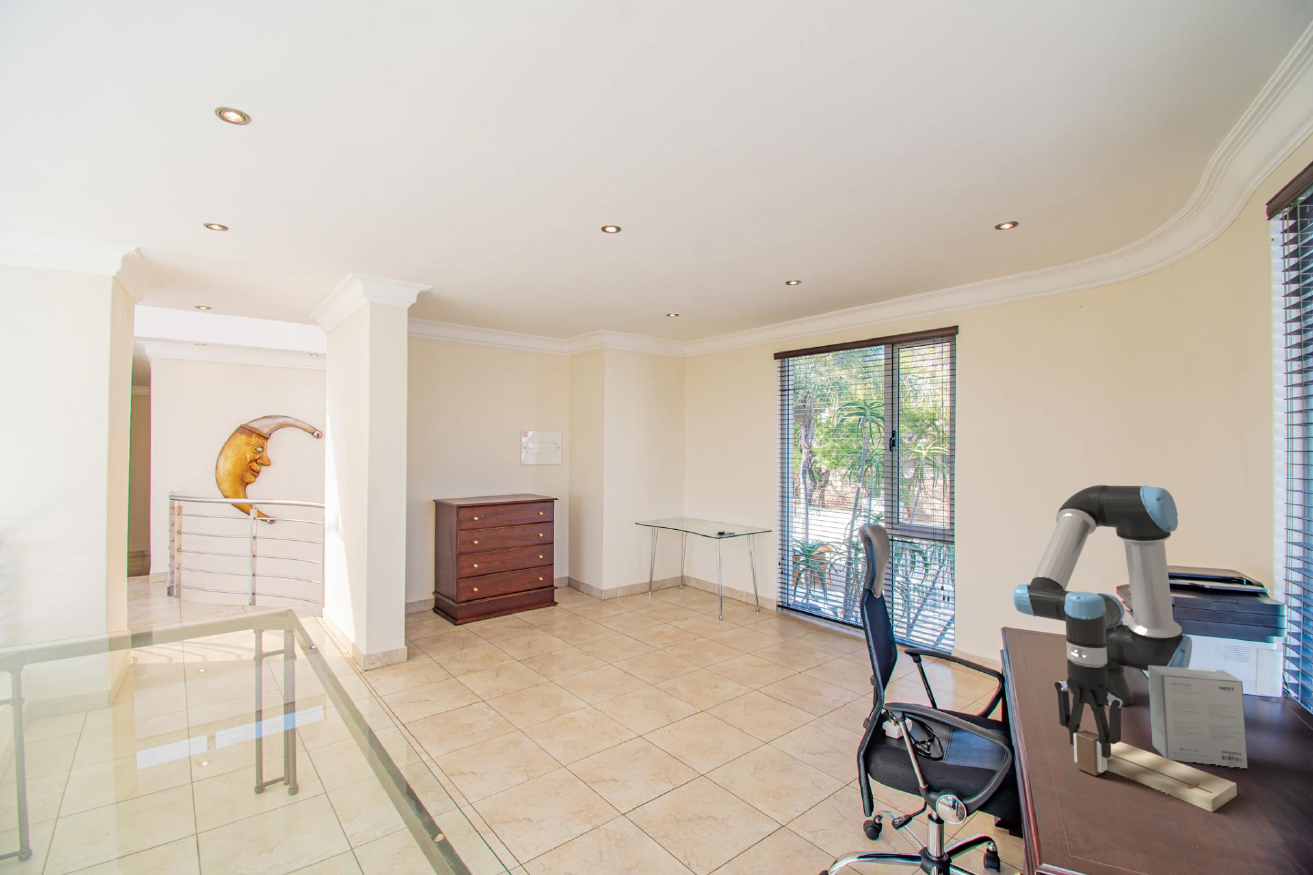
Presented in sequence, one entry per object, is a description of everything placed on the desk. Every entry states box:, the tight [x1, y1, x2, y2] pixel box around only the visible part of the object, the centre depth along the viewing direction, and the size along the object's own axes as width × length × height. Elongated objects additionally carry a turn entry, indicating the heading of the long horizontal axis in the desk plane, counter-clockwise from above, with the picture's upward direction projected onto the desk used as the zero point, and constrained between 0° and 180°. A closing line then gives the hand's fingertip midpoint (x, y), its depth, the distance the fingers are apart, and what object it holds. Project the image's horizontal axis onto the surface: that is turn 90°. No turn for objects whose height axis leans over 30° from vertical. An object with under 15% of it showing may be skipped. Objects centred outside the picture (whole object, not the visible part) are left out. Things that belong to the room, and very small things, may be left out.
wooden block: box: [1076, 729, 1102, 777], centre depth 136 cm, size 4×4×8 cm
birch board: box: [1106, 741, 1238, 813], centre depth 133 cm, size 24×12×3 cm, turn 28°
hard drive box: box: [1147, 665, 1248, 769], centre depth 142 cm, size 16×8×20 cm, turn 71°
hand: (1090, 765), depth 136 cm, fingers closed on wooden block, 4 cm apart
